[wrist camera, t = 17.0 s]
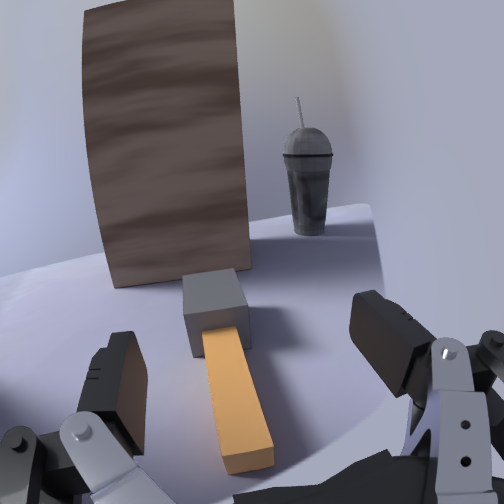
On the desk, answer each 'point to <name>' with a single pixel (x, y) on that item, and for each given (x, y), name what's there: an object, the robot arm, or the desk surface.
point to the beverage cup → (308, 177)
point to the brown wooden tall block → (165, 138)
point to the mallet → (227, 366)
